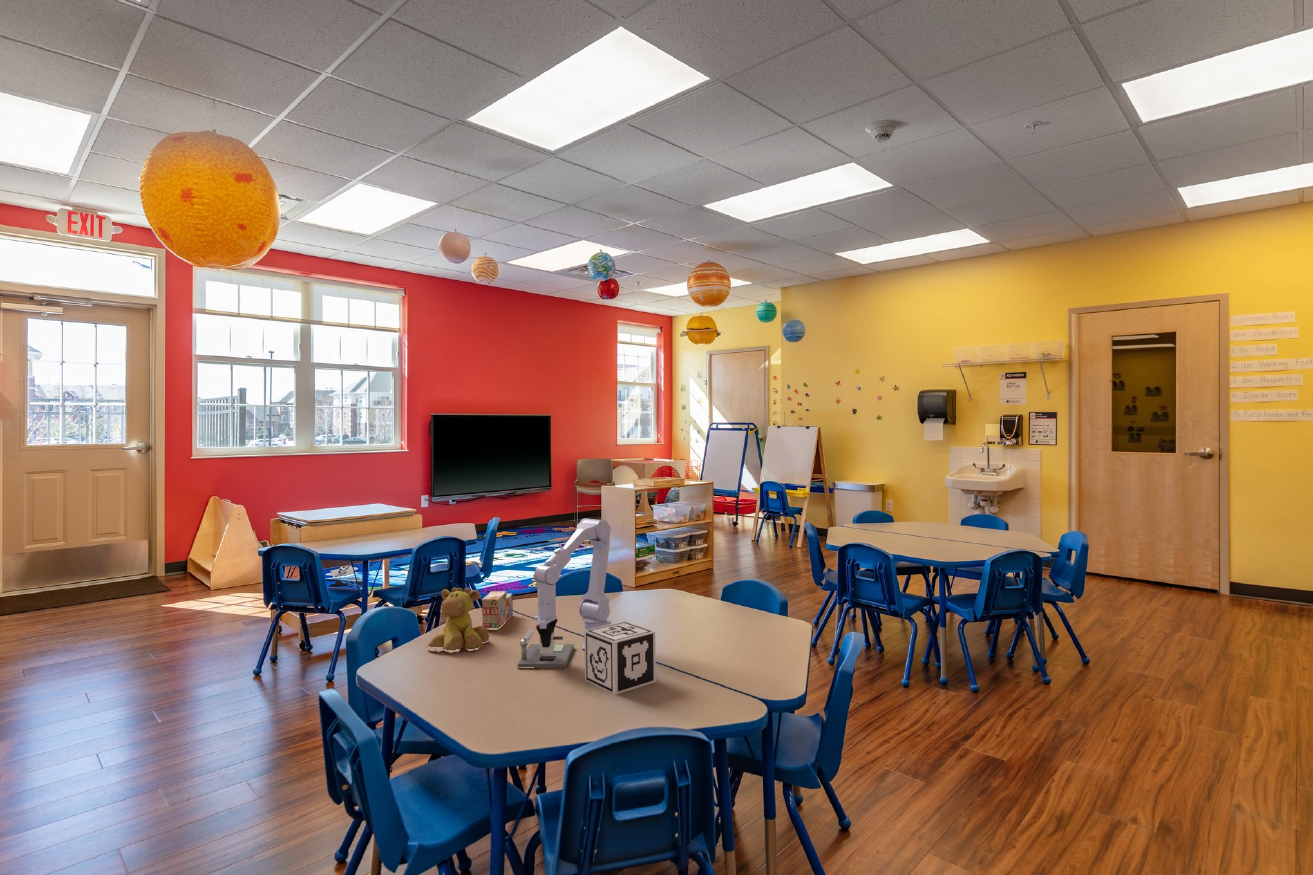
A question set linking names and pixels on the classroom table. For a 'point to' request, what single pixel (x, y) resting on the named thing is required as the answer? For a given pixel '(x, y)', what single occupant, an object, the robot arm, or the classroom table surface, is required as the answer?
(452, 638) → the giraffe plush
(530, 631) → the ball-topped lever
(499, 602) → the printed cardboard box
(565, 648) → the socket plate
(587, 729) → the classroom table surface
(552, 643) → the plug
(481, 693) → the classroom table surface
